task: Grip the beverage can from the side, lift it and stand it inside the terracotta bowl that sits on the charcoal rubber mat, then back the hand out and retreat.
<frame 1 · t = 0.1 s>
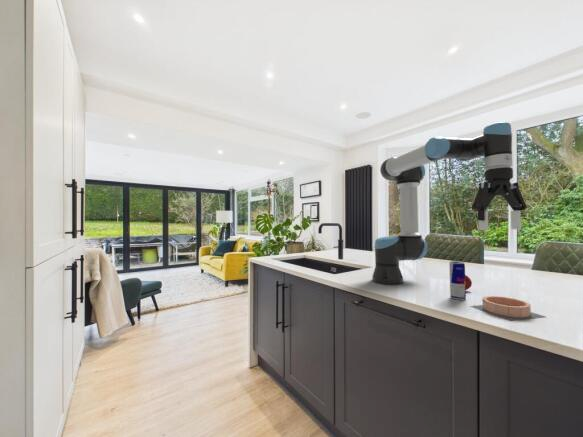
hand: (500, 229, 87), 28 cm above the counter, tool pointing down, fingers open, 13 cm apart
onion: (464, 291, 112), on the counter
bowl: (505, 311, 84), resting on mat
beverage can: (458, 300, 99), on the counter
mat: (505, 312, 84), on the counter
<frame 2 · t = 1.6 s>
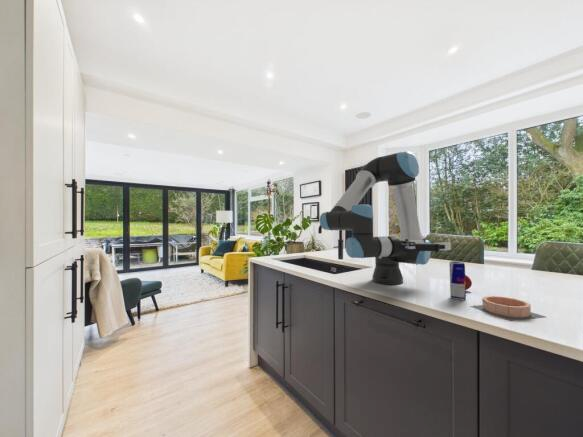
hand: (435, 244, 98), 22 cm above the counter, tool horizontal, fingers open, 13 cm apart
nothing on the counter moved.
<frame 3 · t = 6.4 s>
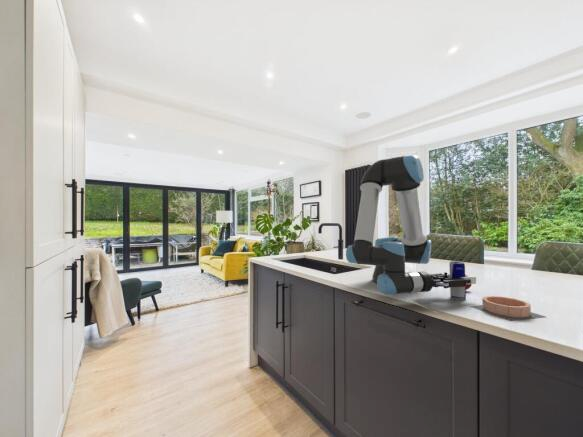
hand: (468, 278, 101), 8 cm above the counter, tool horizontal, fingers closed on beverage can, 5 cm apart
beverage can: (458, 300, 99), on the counter, touching gripper
everything else where it was.
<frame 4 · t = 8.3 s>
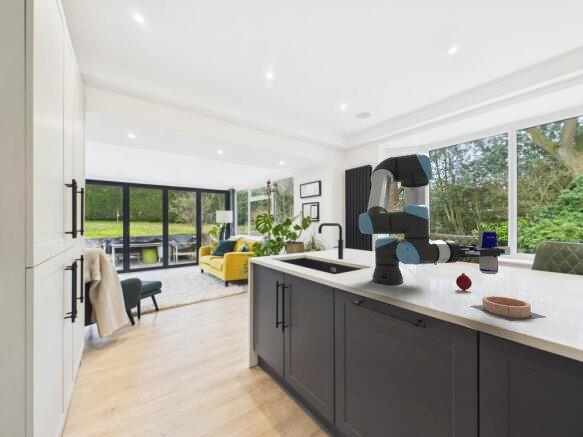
hand: (500, 249, 89), 21 cm above the counter, tool horizontal, fingers closed on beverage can, 5 cm apart
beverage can: (488, 273, 88), point 12 cm above the counter, touching gripper
everything else where it was.
when the fingers open (11 cm above the counter, at t = 10.6 s): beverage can drops 2 cm, resting on bowl.
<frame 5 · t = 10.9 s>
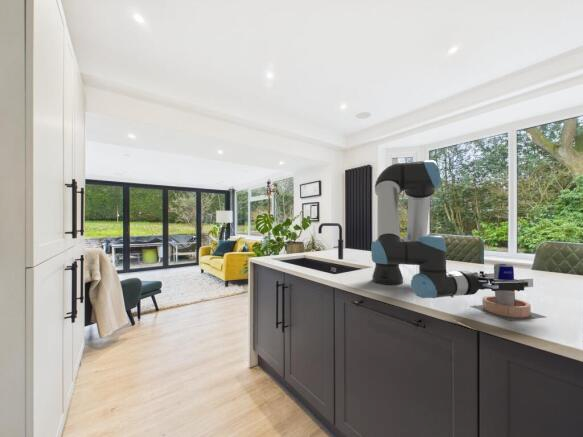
hand: (515, 279, 85), 11 cm above the counter, tool horizontal, fingers open, 9 cm apart
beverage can: (505, 309, 84), point 1 cm above the counter, touching bowl
everything else where it was.
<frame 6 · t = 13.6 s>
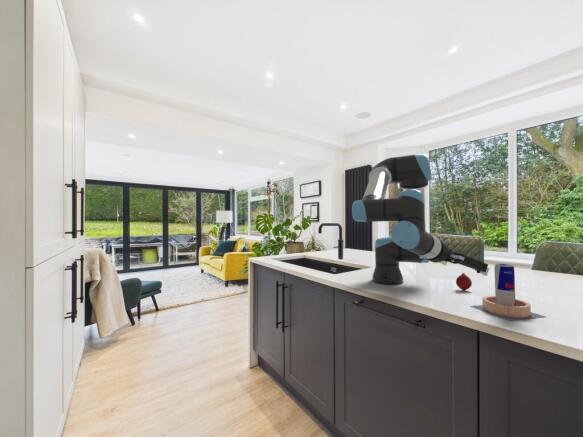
hand: (465, 266, 89), 15 cm above the counter, tool tilted 70°, fingers open, 13 cm apart
nothing on the counter moved.
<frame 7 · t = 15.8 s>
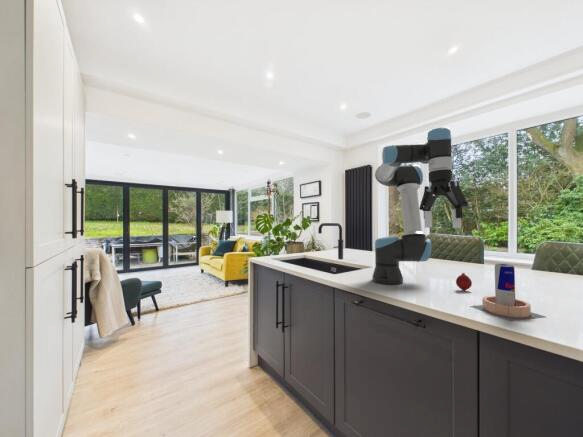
hand: (441, 227, 93), 29 cm above the counter, tool pointing down, fingers open, 13 cm apart
nothing on the counter moved.
at the end: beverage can inside the target area on the bowl (0.1 cm from its centre), point 0.6 cm above the bowl's base; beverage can tilted 0°; the gripper is holding nothing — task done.
